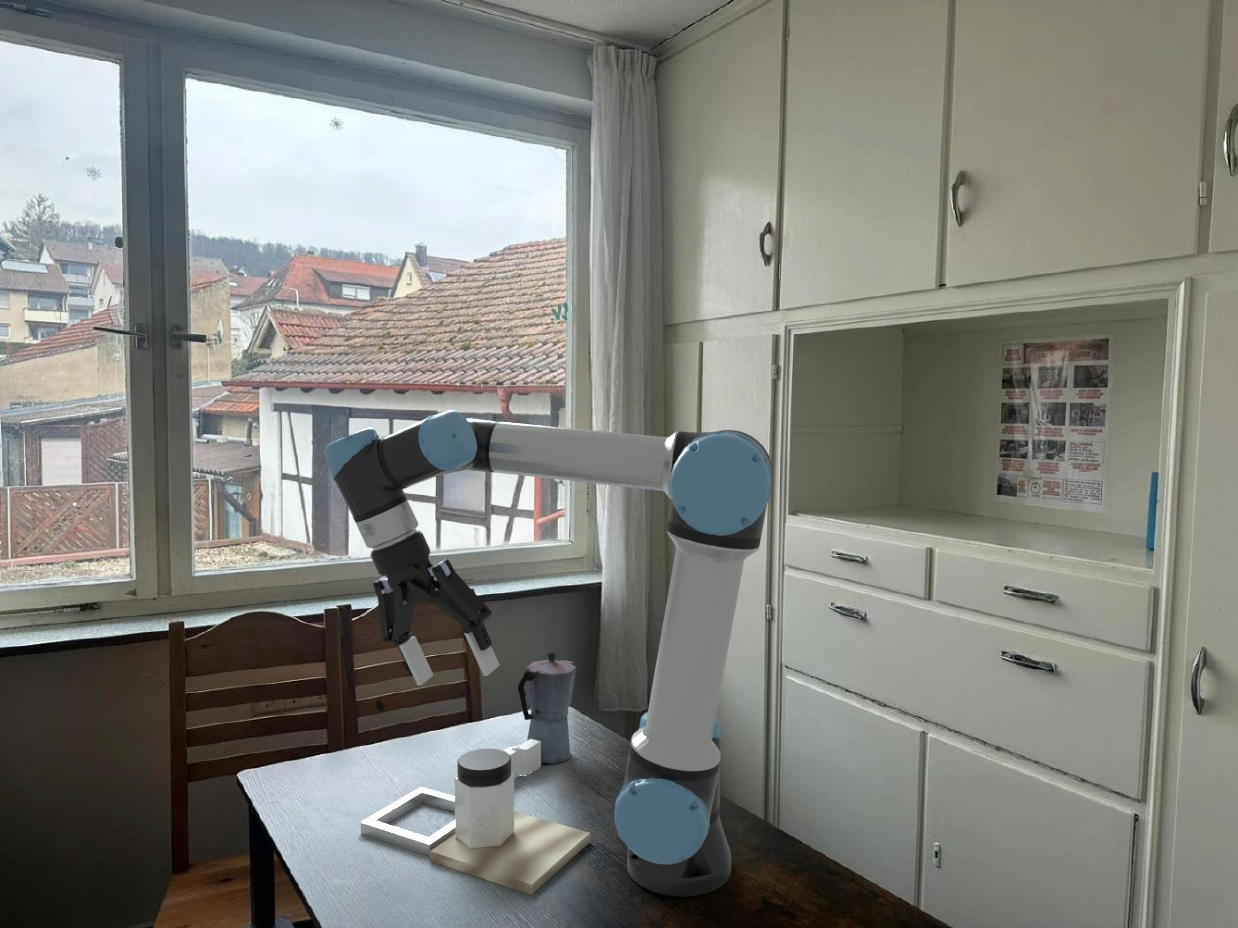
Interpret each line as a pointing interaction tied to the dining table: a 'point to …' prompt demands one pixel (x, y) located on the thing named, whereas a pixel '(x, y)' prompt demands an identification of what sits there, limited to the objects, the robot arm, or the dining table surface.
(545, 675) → the moka pot
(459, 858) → the board
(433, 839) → the white square frame
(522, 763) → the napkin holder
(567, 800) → the dining table surface
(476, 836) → the jar
